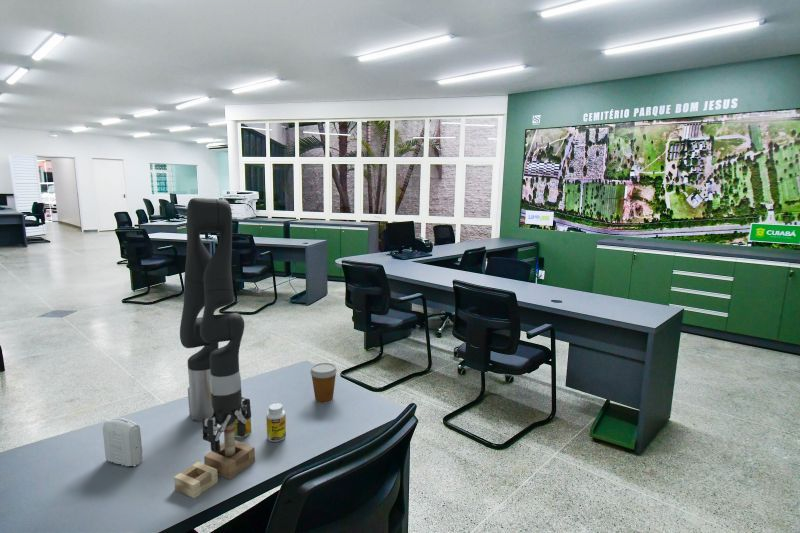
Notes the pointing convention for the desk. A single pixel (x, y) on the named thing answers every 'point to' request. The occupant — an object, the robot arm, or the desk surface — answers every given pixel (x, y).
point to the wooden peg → (229, 440)
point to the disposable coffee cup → (323, 381)
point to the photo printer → (122, 441)
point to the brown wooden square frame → (231, 460)
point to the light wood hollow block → (195, 479)
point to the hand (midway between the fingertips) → (229, 443)
